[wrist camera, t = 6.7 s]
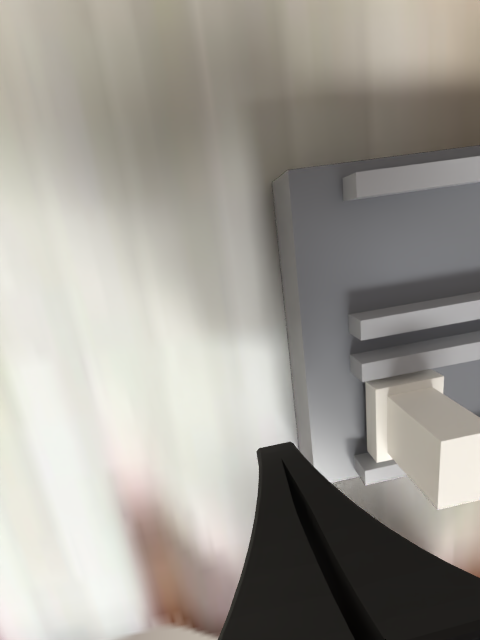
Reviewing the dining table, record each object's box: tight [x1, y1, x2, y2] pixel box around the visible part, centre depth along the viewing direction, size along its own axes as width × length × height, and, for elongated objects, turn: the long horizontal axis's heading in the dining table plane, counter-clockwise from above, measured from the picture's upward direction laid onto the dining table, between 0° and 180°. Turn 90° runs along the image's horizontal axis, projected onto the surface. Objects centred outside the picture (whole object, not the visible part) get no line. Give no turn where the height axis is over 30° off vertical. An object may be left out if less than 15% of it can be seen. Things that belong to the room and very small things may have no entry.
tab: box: [365, 369, 480, 510], centre depth 12 cm, size 3×4×4 cm
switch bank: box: [272, 145, 480, 485], centre depth 14 cm, size 16×14×4 cm
